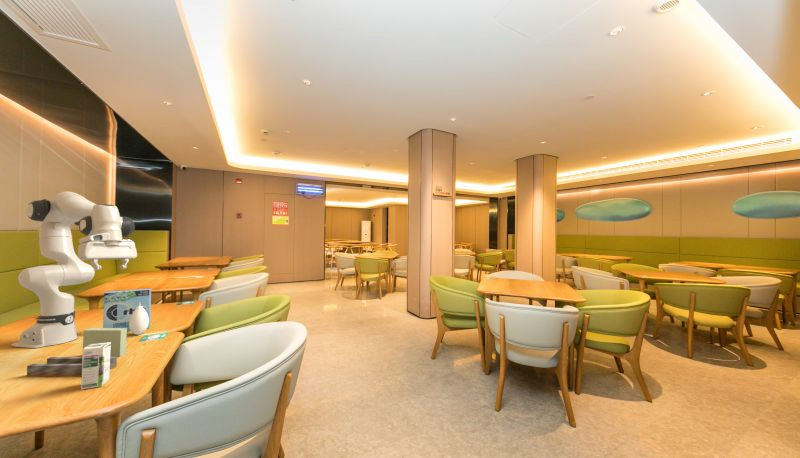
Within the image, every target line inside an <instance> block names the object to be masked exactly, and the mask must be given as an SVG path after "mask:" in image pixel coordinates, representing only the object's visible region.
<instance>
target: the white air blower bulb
mask: <svg viewBox="0 0 800 458" xmlns="http://www.w3.org/2000/svg"><path fill="white" fill-rule="evenodd" d="M136 308H137V309H135V311H134V312H133V314H132V316H131V318H130V322H129V328H130V331H129V332H131V334H134V335H136V336H140V335H142V334H144V333H145V332H146V331H147V330H148V329H147V327H148V324H149V318H148V314H147V312H146V310H145V309H144V308H143V306H140V303H139V306H138V307H136Z"/></svg>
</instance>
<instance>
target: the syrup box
mask: <svg viewBox="0 0 800 458" xmlns="http://www.w3.org/2000/svg"><path fill="white" fill-rule="evenodd" d="M110 350H111V342H108V343H99V344H91V345H88V346H87V347H85V348H84V349H83V348H82V356H81V357H82V376H81V383H80V391H81V390H86V389H93V388H94V389H95V388H101V387H103V386H104V385H105V384H106V383H107V382H108V381H109V380H110V373H111V372H110V370H111V369H110Z"/></svg>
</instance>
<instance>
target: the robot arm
mask: <svg viewBox="0 0 800 458" xmlns="http://www.w3.org/2000/svg"><path fill="white" fill-rule="evenodd" d="M26 214H27V217H28V219H30V220H31V221H36V222H41V223H40V226H39V232H38V234H39V235H38V238H39V240H38V241H39V250H40V255H42V257H44V258H47V259H50V260H53V261H54V262H56V263H57V264H50V265H49V264H48V265H38V266H37V265H36V266H32V267H28V268H24V269H23V270H22V271H21V272H20V273H19V275H18V276H17V280H18V283H19V285H20V286H22V287H23V288H24V289H27V290H30V291H31V292H33V293H34V294H35V295H36V296H37V297H38V299H39V303H40V314H39V316H34V319H35V320H36V322H35V323H34V324H33V325H31V326H30V327H28V328H27V329H25V330H23V331H22V332H21V334H20V337H19V340H18V341H15V342H14V343H11V345H10V346H11V347H15V348H28V349H38V348H43V347H48V346H54V345H60V344H64V343H69V342H72V341H74V340H76V339H78V333H77V329H76V321H75V318H76V311H75V297H74V295H72V294H71V293H68V292H63V291H60V289H59V287H63V286H64V287H65V286H72V285H80V284H84V283H87V282H88V283H89V282H91V280H93V278H94V277H95V274H96V271H101V270H102V265H99V263H98V262H99V261H105V260H106V261H107V260H108V261H109V260H110V261H111V260H121V262H122V263H121V264H120V265H119V269H120V270H125V269H127V264H128V263H129V261H130V260H134V259H136V258H137V257H138V251H137V247H136V243H135V242H134V241H133V240H132V239H125V238H127V237H129V236H131V235H132V234H133V233H134V232H135V229H136V225H135V222H134V221H133V220H132V218H130V217H129V216H121V215H120V212H119V208H118V207H117V206H116V205H114V204H107V203H98V204H97V203H95V202H93V201H91V200H89V199H87V198H86V197H84V196H83V195H81V194H79V193H76V192H74V191H67V190H66V191H61V192H59V193H57V194H56V195H55V196H54V198H53V200H52V199H51V200H50V199H47V198H43V199H39V200H33V201H30V202H29V203H28V205H27V206H26ZM73 224H74V225H75V226H78V229H79V232H80V233H82V234H83V235H84V236H83V237H81V238H79V239H78V243H79V245H78V247H77V253H76V252H75V248H74V244H73V234H72V230H71V227H72V225H73ZM84 261H89V262H90V264H89V263H87V262H84Z"/></svg>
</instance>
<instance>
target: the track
mask: <svg viewBox="0 0 800 458" xmlns="http://www.w3.org/2000/svg"><path fill="white" fill-rule="evenodd" d="M82 357H83V356H50V357H47V358H46V363H31V364H29V365H27V366H26V367H27V368H26V376H27V377H74V376H75V377H82ZM117 362H118V357H110V370H111V369H115V368H117V364H118V363H117Z"/></svg>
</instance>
